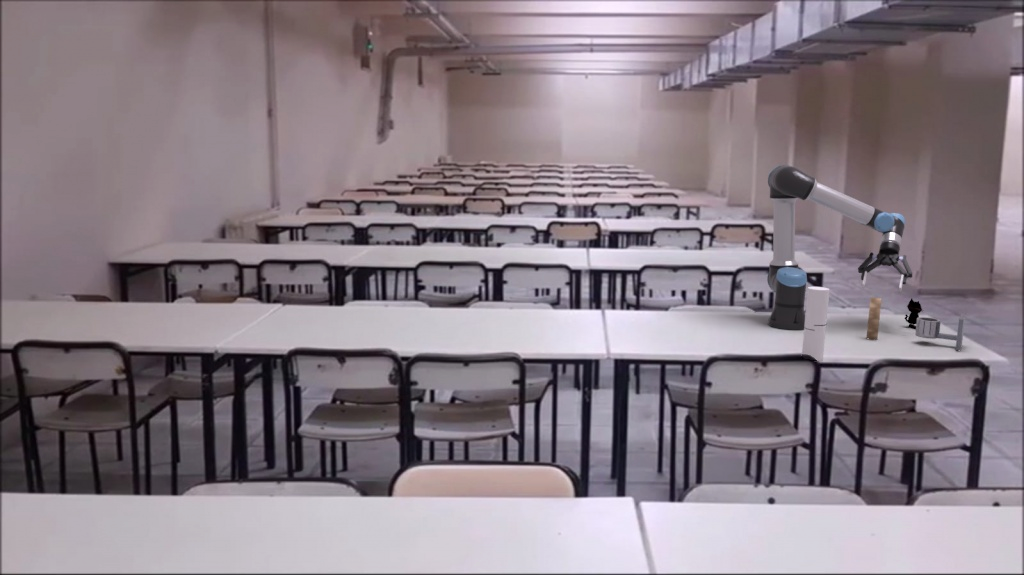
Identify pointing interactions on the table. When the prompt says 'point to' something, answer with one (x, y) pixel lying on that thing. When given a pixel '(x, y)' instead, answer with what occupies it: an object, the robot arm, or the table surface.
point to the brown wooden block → (873, 318)
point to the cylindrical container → (815, 322)
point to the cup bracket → (932, 330)
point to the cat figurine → (913, 313)
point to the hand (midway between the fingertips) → (881, 288)
